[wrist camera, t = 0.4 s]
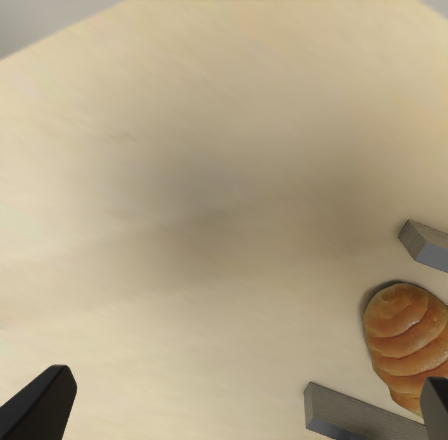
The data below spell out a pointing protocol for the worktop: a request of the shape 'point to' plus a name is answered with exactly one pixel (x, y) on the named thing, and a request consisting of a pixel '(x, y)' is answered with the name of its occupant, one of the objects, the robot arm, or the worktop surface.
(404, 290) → the pastry
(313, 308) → the worktop surface
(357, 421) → the rail pocket
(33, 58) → the worktop surface
